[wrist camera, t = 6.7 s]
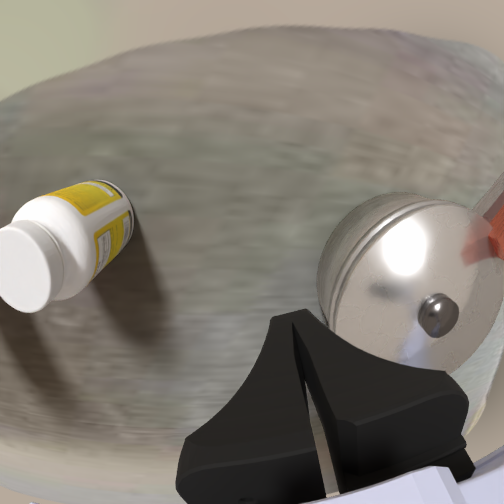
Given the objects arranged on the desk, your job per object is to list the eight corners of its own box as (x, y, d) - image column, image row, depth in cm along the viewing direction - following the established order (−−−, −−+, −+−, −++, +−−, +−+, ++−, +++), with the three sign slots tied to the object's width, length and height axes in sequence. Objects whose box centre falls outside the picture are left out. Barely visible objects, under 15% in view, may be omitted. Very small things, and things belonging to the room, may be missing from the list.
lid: (398, 409, 20) (406, 425, 18) (286, 317, 17) (291, 335, 15) (555, 238, 16) (570, 245, 15) (495, 98, 13) (514, 97, 12)
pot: (353, 385, 26) (370, 426, 21) (251, 296, 22) (254, 335, 18) (510, 234, 22) (547, 252, 17) (446, 112, 19) (490, 109, 14)
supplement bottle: (56, 199, 20) (-38, 238, 10) (116, 165, 19) (29, 185, 10) (87, 266, 21) (12, 337, 12) (148, 239, 21) (88, 309, 12)
